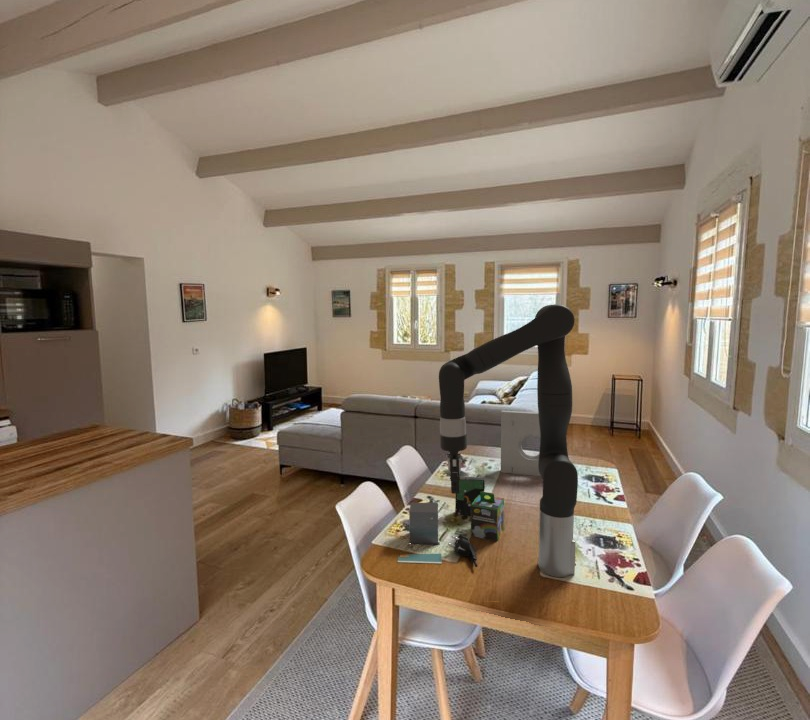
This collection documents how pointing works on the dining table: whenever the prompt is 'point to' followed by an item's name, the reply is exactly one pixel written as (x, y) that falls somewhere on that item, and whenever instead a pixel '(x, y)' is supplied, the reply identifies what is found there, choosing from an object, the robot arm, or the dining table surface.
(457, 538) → the power plug
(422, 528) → the unit
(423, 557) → the mat
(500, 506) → the chalk box
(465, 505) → the disk drive
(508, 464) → the mounting panel
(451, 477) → the robot arm
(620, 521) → the dining table surface
